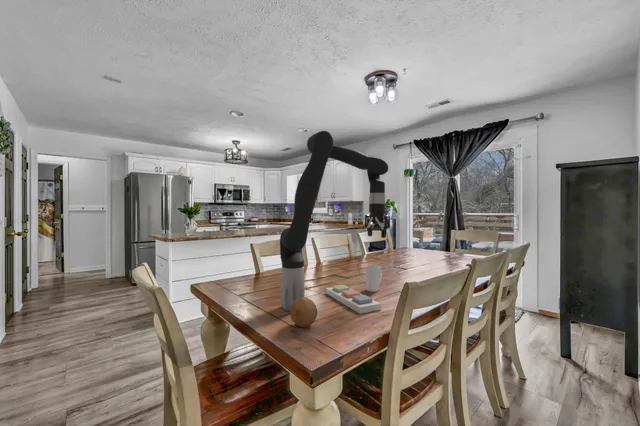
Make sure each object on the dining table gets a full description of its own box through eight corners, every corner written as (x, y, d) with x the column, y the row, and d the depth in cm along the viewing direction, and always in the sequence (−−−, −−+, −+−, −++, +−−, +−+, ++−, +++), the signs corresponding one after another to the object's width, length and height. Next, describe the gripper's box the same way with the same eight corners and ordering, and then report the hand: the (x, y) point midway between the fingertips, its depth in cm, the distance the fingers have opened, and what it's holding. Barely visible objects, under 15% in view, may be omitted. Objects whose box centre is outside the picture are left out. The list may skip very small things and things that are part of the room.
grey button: (360, 305, 119) (360, 300, 119) (352, 301, 124) (352, 296, 124) (372, 303, 121) (372, 298, 121) (364, 299, 127) (364, 294, 127)
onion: (315, 332, 99) (314, 302, 99) (286, 330, 100) (286, 301, 100) (319, 321, 108) (319, 294, 108) (293, 319, 110) (293, 293, 110)
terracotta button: (348, 299, 127) (348, 294, 127) (341, 295, 133) (341, 290, 132) (360, 297, 130) (360, 292, 130) (353, 293, 135) (353, 289, 135)
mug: (371, 292, 143) (371, 268, 143) (362, 289, 149) (362, 265, 149) (387, 289, 148) (387, 265, 148) (377, 286, 154) (377, 263, 154)
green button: (338, 293, 135) (338, 289, 135) (332, 290, 141) (332, 286, 141) (349, 291, 138) (349, 287, 138) (343, 288, 143) (343, 284, 143)
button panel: (359, 313, 115) (359, 307, 115) (326, 293, 143) (326, 288, 143) (380, 309, 120) (380, 303, 120) (344, 290, 147) (344, 285, 147)
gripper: (360, 202, 143) (360, 236, 144) (382, 202, 132) (382, 238, 132) (371, 203, 148) (371, 235, 148) (394, 202, 136) (393, 238, 136)
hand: (376, 237), depth 140 cm, fingers open, 8 cm apart
